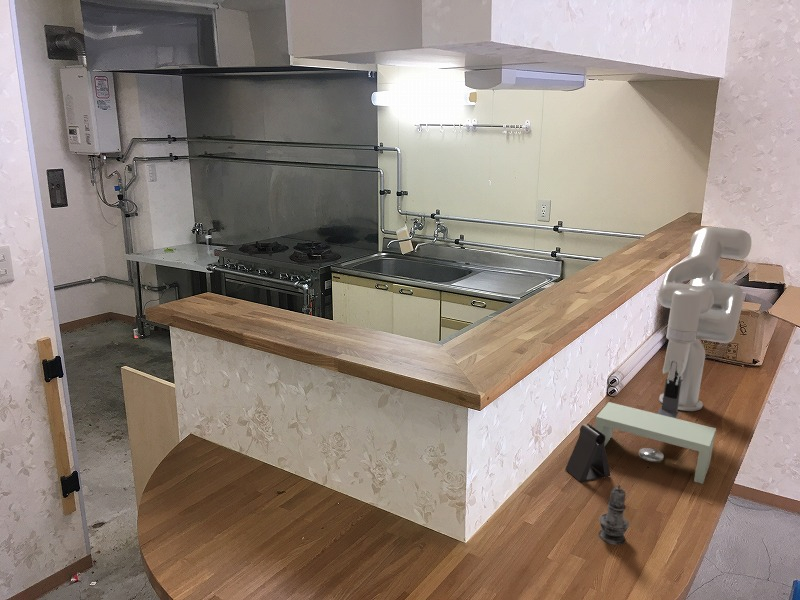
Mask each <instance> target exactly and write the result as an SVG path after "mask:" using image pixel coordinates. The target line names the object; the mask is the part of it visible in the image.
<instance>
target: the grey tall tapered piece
mask: <svg viewBox="0 0 800 600" xmlns="http://www.w3.org/2000/svg"><path fill="white" fill-rule="evenodd" d="M609 495H610V496H609V501H607V503H606V504H607V513H603V514H601V515H600V516H599V518H598V519H599V523H600V527H601V530H600V531H599V532H598V537H599V538H600V539H601V540H602V541H603V542H605V543H607V544H610V545H615V546H617V545H619V546H620V545H622V544H625V542H626V537H625V535H624V534H626V532H627V530H628V529H629V527H630V523H629V521H628V520H627V519H626V518H625V517H624V511H625V510H626V505H625V500H626V496H627V495H626V491H625V490H624V488H623V489H622V488H621V485H620V484H618V485H617V487H613V488H611V490H610V494H609Z"/></svg>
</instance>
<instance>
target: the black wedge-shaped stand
mask: <svg viewBox="0 0 800 600" xmlns="http://www.w3.org/2000/svg"><path fill="white" fill-rule="evenodd" d="M604 444H605V435H604V434H602V433H601V432H599V431H598V430H597V429H595V426H594V427H593V426H592V425H590V424H589V423H586V424H584V423H583V424H582V425H581V426H580V428H579V436H578V439H577V441H576V442H575V445H574V447H573V449H572V451H571V452H572V453H571V454H570V457H569V459H568V462H567V464H566V466H565V469H564V470H565V471H566V472H567V473H569V474H570V475H571V476H572V477H574V478H575V479H576V480H577V481H578V482H580V483H585V482H589V481H595V480H599V479H605V478H604V477H607V478H609V477H608V476H610V477H611V470H610V466H609V460H608V455H607V451H606V446H605V445H604Z"/></svg>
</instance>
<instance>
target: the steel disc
mask: <svg viewBox="0 0 800 600" xmlns="http://www.w3.org/2000/svg"><path fill="white" fill-rule="evenodd" d="M638 456H639V457H640V458H641V459H642V460H645V461H647V462H651V463H661V462H663V460H664V458H665V456H664V453H663V452H661V451H659V450H657V449H655V448H650V447H643V448H640V449H639V451H638Z"/></svg>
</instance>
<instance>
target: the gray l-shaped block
mask: <svg viewBox="0 0 800 600" xmlns="http://www.w3.org/2000/svg"><path fill="white" fill-rule="evenodd" d="M667 381H668V376H667V377H666V378H665V385H664V389H663V393H664V396H663V402H662V403H661V407H659V409H658V411H657V412H656V414H660V415H664V416H668V417H672V418H676V419H678V416H679V414H680V412H679V411H678V405H679V399H680V393H681V386H682V380H679V382H678V385H679V389H678V395H677V399H673V398H669V397H666V396H665V391H666V384H667Z"/></svg>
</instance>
